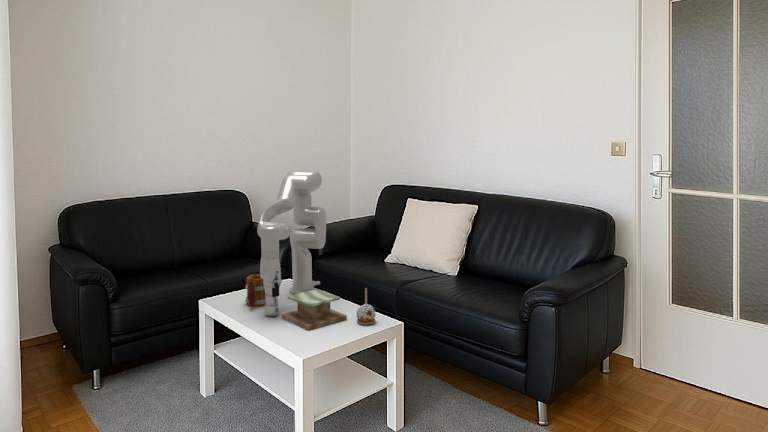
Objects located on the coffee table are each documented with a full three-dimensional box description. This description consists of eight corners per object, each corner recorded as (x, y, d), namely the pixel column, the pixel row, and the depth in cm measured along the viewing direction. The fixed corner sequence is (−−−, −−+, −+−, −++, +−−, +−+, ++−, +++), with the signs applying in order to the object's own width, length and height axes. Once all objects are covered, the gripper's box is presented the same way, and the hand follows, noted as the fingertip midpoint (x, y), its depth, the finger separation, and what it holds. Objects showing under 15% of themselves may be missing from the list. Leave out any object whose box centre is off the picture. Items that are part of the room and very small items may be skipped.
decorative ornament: (368, 327, 249) (368, 292, 246) (353, 323, 253) (353, 289, 250) (378, 321, 255) (378, 287, 253) (363, 318, 259) (363, 284, 257)
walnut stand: (319, 308, 272) (319, 287, 270) (346, 319, 257) (346, 297, 256) (281, 318, 259) (280, 295, 257) (308, 330, 244) (307, 306, 242)
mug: (272, 300, 284) (271, 269, 281) (262, 311, 268) (261, 279, 265) (250, 299, 285) (249, 269, 282) (238, 310, 269) (237, 278, 266)
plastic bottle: (276, 318, 259) (275, 273, 255) (261, 317, 260) (260, 272, 257) (282, 313, 265) (281, 269, 262) (267, 312, 266) (266, 268, 263)
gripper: (252, 252, 262) (253, 291, 265) (273, 259, 249) (274, 300, 252) (267, 249, 267) (268, 288, 270) (289, 256, 254) (289, 297, 257)
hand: (271, 294), depth 261 cm, fingers closed on plastic bottle, 6 cm apart
